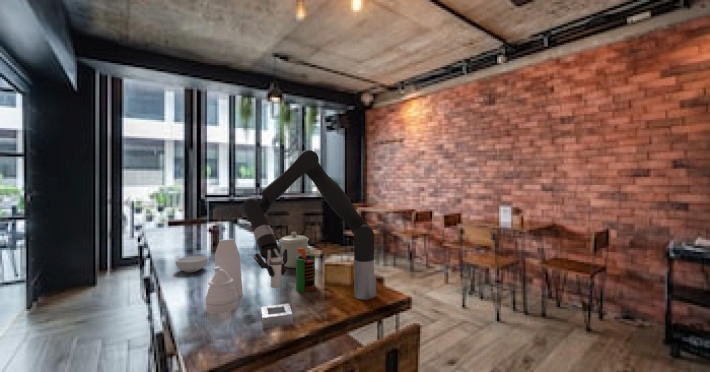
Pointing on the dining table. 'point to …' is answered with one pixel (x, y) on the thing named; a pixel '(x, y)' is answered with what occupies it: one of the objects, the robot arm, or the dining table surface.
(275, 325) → the box
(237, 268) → the tall white vase
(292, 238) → the canister
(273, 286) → the plug
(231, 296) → the honey pot
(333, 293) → the dining table surface
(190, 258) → the cereal bowl
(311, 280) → the motor
